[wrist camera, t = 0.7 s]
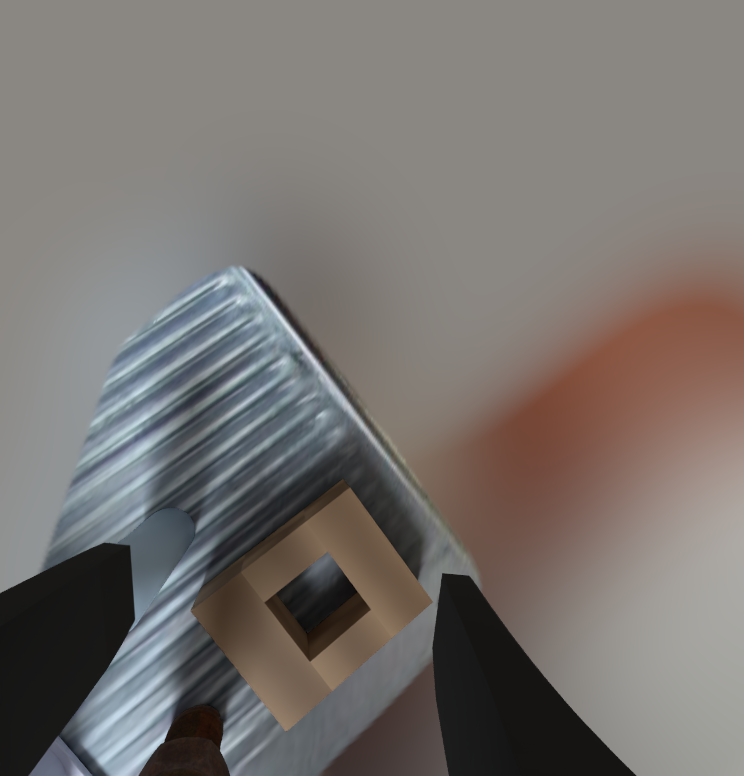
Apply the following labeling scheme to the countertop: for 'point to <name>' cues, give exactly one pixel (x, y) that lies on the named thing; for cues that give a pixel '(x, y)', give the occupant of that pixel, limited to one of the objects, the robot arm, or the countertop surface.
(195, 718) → the bolt
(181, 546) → the dowel
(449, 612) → the robot arm
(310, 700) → the hole block
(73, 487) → the countertop surface
